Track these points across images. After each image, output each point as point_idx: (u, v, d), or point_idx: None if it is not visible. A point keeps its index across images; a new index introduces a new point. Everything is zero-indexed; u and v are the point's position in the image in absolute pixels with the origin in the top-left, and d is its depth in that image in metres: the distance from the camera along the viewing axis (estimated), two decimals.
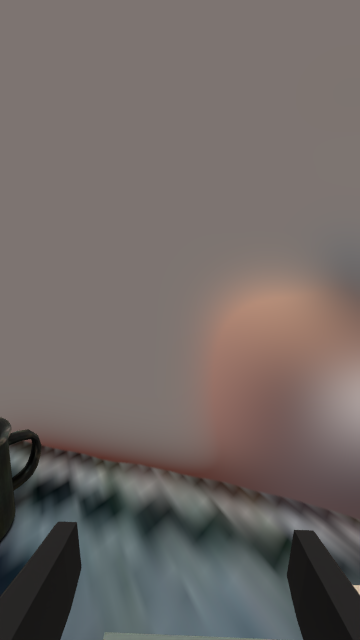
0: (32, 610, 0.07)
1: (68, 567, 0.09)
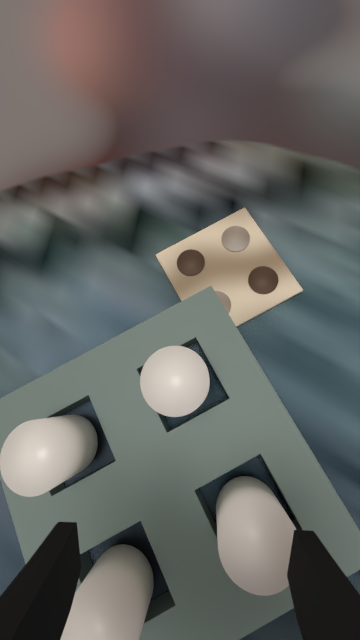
0: (32, 610, 0.07)
1: (68, 567, 0.09)
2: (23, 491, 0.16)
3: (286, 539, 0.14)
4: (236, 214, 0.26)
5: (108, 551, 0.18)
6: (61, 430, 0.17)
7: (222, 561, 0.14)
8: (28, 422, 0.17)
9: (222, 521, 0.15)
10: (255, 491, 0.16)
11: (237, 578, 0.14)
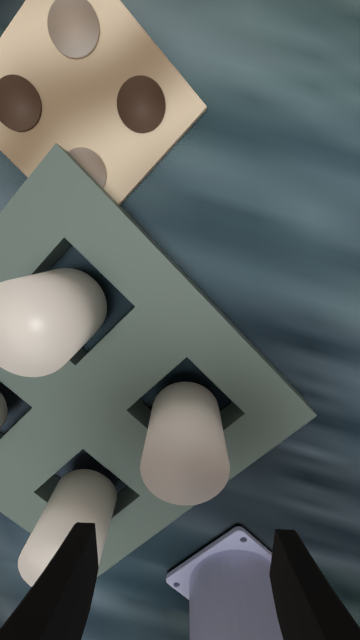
0: (57, 610, 0.07)
1: (87, 568, 0.09)
2: None
3: (211, 457, 0.13)
4: None
5: (61, 481, 0.18)
6: None
7: (151, 491, 0.13)
8: None
9: (141, 459, 0.13)
10: (177, 413, 0.14)
11: (170, 498, 0.13)
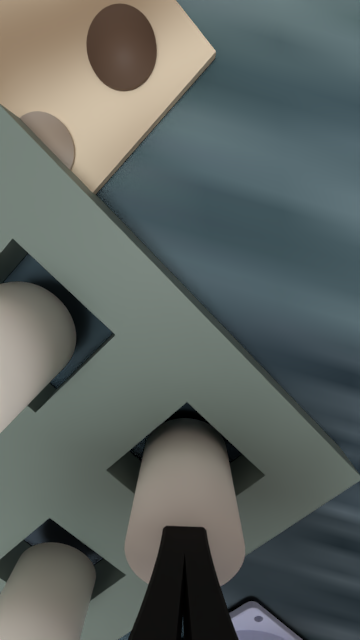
0: (178, 616, 0.07)
1: None
2: None
3: (220, 536, 0.09)
4: None
5: (20, 561, 0.14)
6: None
7: (140, 576, 0.10)
8: None
9: (126, 537, 0.10)
10: (174, 469, 0.10)
11: None
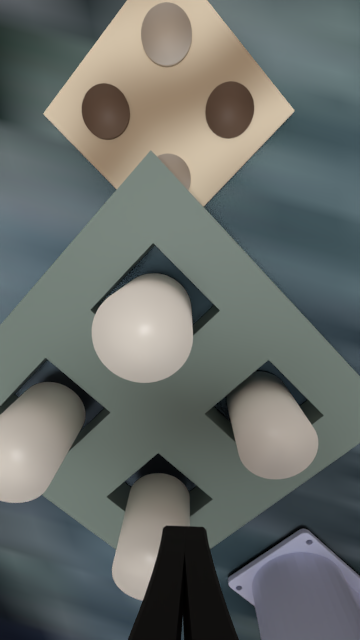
0: (178, 616, 0.07)
1: None
2: (18, 499, 0.14)
3: (302, 434, 0.14)
4: None
5: (137, 486, 0.18)
6: (24, 433, 0.13)
7: (246, 466, 0.15)
8: None
9: (239, 438, 0.15)
10: (265, 397, 0.15)
11: (262, 473, 0.15)
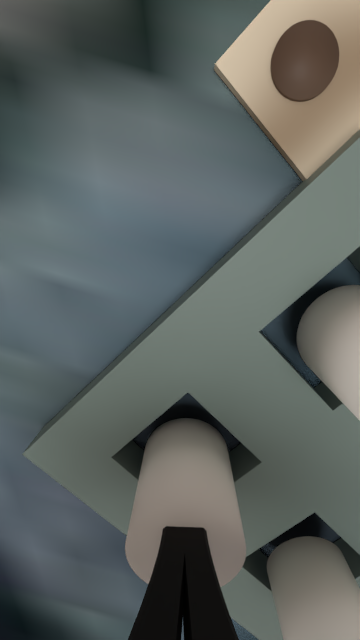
0: (178, 616, 0.07)
1: None
2: None
3: None
4: None
5: (286, 554, 0.14)
6: (216, 506, 0.09)
7: None
8: (153, 512, 0.09)
9: None
10: None
11: None
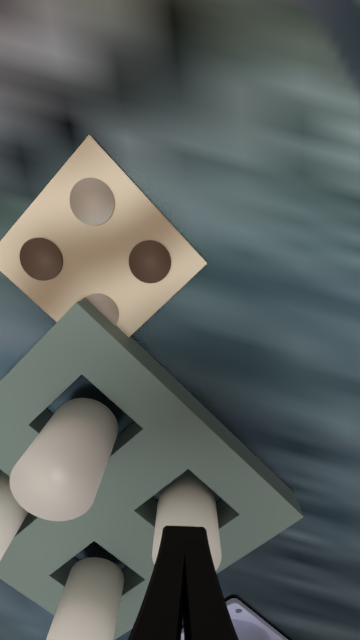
0: (178, 616, 0.07)
1: None
2: None
3: None
4: (80, 153, 0.15)
5: (74, 570, 0.20)
6: None
7: None
8: None
9: (153, 548, 0.17)
10: (180, 507, 0.17)
11: None
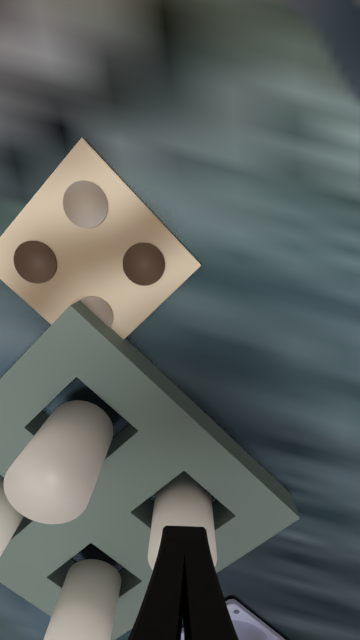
0: (178, 616, 0.07)
1: None
2: None
3: None
4: (72, 155, 0.15)
5: (71, 572, 0.20)
6: None
7: None
8: None
9: (148, 550, 0.17)
10: (176, 509, 0.17)
11: None
